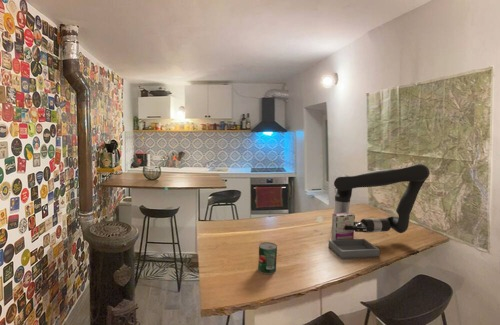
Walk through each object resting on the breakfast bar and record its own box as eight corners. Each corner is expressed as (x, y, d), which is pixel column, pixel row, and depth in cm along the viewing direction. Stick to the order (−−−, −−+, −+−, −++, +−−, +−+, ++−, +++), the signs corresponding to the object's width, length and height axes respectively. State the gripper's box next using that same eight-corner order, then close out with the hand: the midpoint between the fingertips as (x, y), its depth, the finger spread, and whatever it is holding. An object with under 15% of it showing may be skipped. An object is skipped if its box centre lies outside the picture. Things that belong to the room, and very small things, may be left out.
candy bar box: (348, 240, 167) (350, 212, 165) (353, 244, 162) (355, 214, 160) (330, 242, 164) (332, 213, 162) (335, 245, 159) (337, 215, 157)
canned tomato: (254, 269, 130) (255, 245, 129) (266, 263, 135) (267, 240, 134) (267, 276, 124) (268, 250, 123) (279, 270, 130) (281, 246, 128)
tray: (328, 247, 156) (329, 240, 156) (363, 246, 160) (364, 238, 159) (341, 259, 143) (341, 251, 142) (379, 257, 146) (379, 249, 146)
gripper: (364, 215, 171) (337, 215, 168) (379, 223, 157) (349, 223, 154) (363, 227, 172) (336, 228, 169) (378, 236, 158) (348, 237, 155)
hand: (342, 226), depth 162 cm, fingers closed on candy bar box, 5 cm apart
